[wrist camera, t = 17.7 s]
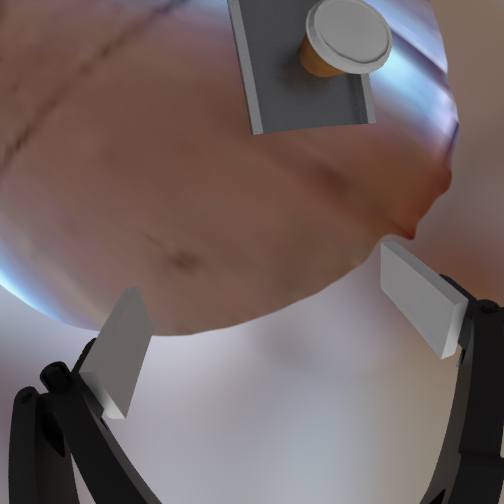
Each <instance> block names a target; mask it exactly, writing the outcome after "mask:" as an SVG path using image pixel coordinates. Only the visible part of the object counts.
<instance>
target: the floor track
mask: <svg viewBox="0 0 504 504" xmlns="http://www.w3.org/2000/svg"><path fill="white" fill-rule="evenodd" d="M319 1H321V0H227V3H228V8H229V14H230V19H231V24H232V29H233V34H234V39H235V45H236V50H237V55H238V61H239V66H240V72H241V77H242V83H243V88H244V94H245V99H246V105H247V111H248V116H249V122H250V128H251V134H252V135H257V134H264V133H271V132H278V131H286V130H294V129H303V128H313V127H323V126H335V125H350V124H368V123H376V118H375V111H374V104H373V98H372V92H371V86H370V80H369V75H368V73H365V74H352V73H346V74H341V75H335V76H331V77H319V76H316V75H314V74H312V73H310V72H309V71H308V70H306V69H305V67H304V66H303V65H302V63H301V61H300V58H299V50H300V46H301V44H302V41H303V38H304V35H305V32H306V19H307V16H308V13H309V11H310V10H311V8H312V7H313V6H314V5H315V4H316V3H318V2H319Z"/></svg>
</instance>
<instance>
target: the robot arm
mask: <svg viewBox="0 0 504 504" xmlns="http://www.w3.org/2000/svg"><path fill="white" fill-rule="evenodd" d="M380 288H381V289H382V290H383V291H384V292H385V293H386V294H387V295H388V297H389V298H390V299H391V300H392V301H393V302H394V303H395V305H396V306H397V307H398V308H399V309H400V310H401V312H402V313H403V314H404V315H405V316H406V317H407V319H408V320H409V321H410V322H411V323H412V325H413V326H414V327H415V328H416V329H417V330H418V332H419V333H420V334H421V335H422V336H423V338H424V339H425V340H426V341H427V343H428V344H429V345H430V346H431V348H432V349H433V350H434V351H435V353H436V354H437V355H438V356H439V358H440V359H444V358H446V357H448V356H451V355H452V354H454V353H455V350H456V347H457V343H458V344H459V345H460V346H461V347H462V351H461V354H460V357H459V360H458V363H457V365H456V367H459V369H458V376H457V382H456V389H455V394H454V399H453V404H452V409H451V414H450V418H449V422H448V426H447V431H446V434H445V438H444V442H443V445H442V449H441V452H440V456H439V459H438V462H437V465H436V468H435V471H434V474H433V477H432V480H431V482H430V485H429V487H428V490H427V492H426V493H425V495H424V497H423V499H422V500H421V502H420V504H498V502H499V498H500V494H501V490H502V485H503V480H504V458H502V457H501V456H500V451H501V444H502V436H503V426H504V307H500V306H499V305H498V304H497V303H495V302H493V301H491V300H487V299H485V300H484V299H483V300H477V299H476V298H475V297H473V296H472V295H471V294H470V293H469V292H467V291H466V290H465V289H463V288H462V287H461V286H460V285H459V284H457V283H456V282H455V281H454V280H452V279H451V278H450V277H447V276H445V275H442V274H439V275H438V274H437V273H435V272H434V271H433V270H432V269H430V268H429V267H428V266H426V265H425V264H424V263H422V262H421V261H420V260H419V259H417V258H416V257H415V256H413V255H412V254H411V253H409V252H408V251H407V250H405V249H404V248H402V247H401V246H400V245H398V244H397V243H396V242H394V241H393V240H392V241H387V242H383V243H381V277H380ZM153 330H154V326H153V324H152V321H151V319H150V316H149V313H148V311H147V308H146V305H145V303H144V300H143V297H142V295H141V292H140V289H139V286H137V287H131V288H126V289H125V291H124V292H123V294H122V296H121V297H120V299H119V301H118V302H117V304H116V306H115V307H114V309H113V311H112V312H111V314H110V316H109V318H108V319H107V321H106V323H105V324H104V326H103V328H102V330H101V331H100V333H99V335H98V337H97V338H93V339H92V340H91V341H90V342H89V343H88V344H87V345H86V346H85V348H84V350H83V351H82V354H81V355H80V357H79V359H78V360H77V362H76V364H75V366H74V368H73V370H72V371H71V372H70V371H69V369H68V367H67V366H66V364H65V363H64V362H61V361H58V362H54V363H51V364H49V365H48V366H46V367H45V368H44V369H43V370H42V372H41V374H40V380H41V381H42V383H43V384H44V386H45V387H46V388H47V390H48V391H49V392H48V393H43V394H39V393H38V392H37V390H36V389H35V388H34V387H31V386H29V387H25V388H23V389H21V390H20V391H19V392H18V393H17V395H16V397H15V399H14V405H13V413H12V421H11V431H10V444H9V473H8V474H9V476H8V479H9V504H80V503H79V499H78V494H77V489H76V484H75V478H74V472H73V467H72V459H71V453H72V455H73V458H74V460H75V463H76V465H77V467H78V469H79V471H80V473H81V475H82V478H83V480H84V482H85V484H86V486H87V488H88V490H89V492H90V493H91V495H92V497H93V499H94V501H95V503H96V504H162V503H161V502H160V501H159V499H158V498H157V497H156V496H155V494H154V493H153V492H152V491H151V490H150V488H149V487H148V486H147V484H146V483H145V481H144V480H143V479H142V477H141V476H140V475H139V473H138V472H137V471H136V469H135V468H134V466H133V465H132V464H131V462H130V461H129V459H128V458H127V456H126V455H125V453H124V452H123V450H122V449H121V447H120V445H119V444H118V442H117V441H116V439H115V437H114V436H113V434H112V433H111V431H110V429H109V427H108V426H107V424H106V422H105V421H104V420H103V418H102V414H103V411H105V412H106V414H107V415H108V416H109V418H111V419H126V416H127V412H128V409H129V406H130V402H131V399H132V395H133V392H134V389H135V385H136V382H137V379H138V376H139V373H140V370H141V367H142V363H143V360H144V357H145V354H146V351H147V348H148V345H149V342H150V339H151V336H152V333H153Z"/></svg>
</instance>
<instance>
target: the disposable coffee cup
mask: <svg viewBox="0 0 504 504" xmlns="http://www.w3.org/2000/svg"><path fill="white" fill-rule="evenodd" d="M391 48H392V35H391V31H390V28H389V26H388V24H387V22H386V21H385V19H384V18H383V16H382V15H381V14H380V13H379V12H378V11H377V10H376V9H375V8H374V7H372V6H371V5H369V4H367V3H366V2H364V1H362V0H321V1H319V2H318V3H316V4H315V5H314V6H313V7H312V8H311V10H310V11H309V13H308V16H307V19H306V32H305V35H304V38H303V41H302V44H301V46H300V50H299V58H300V61H301V63H302V65H303V66H304V67H305V69H306V70H308V71H309V72H310V73H312V74H314V75H316V76H319V77H331V76H335V75H341V74H346V73H352V74H365V73H371V72H373V71H376V70H377V69H379V68H380V67H382V66H383V65H384V63H385V62H386V61H387V59H388V57H389V54H390V52H391Z"/></svg>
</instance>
